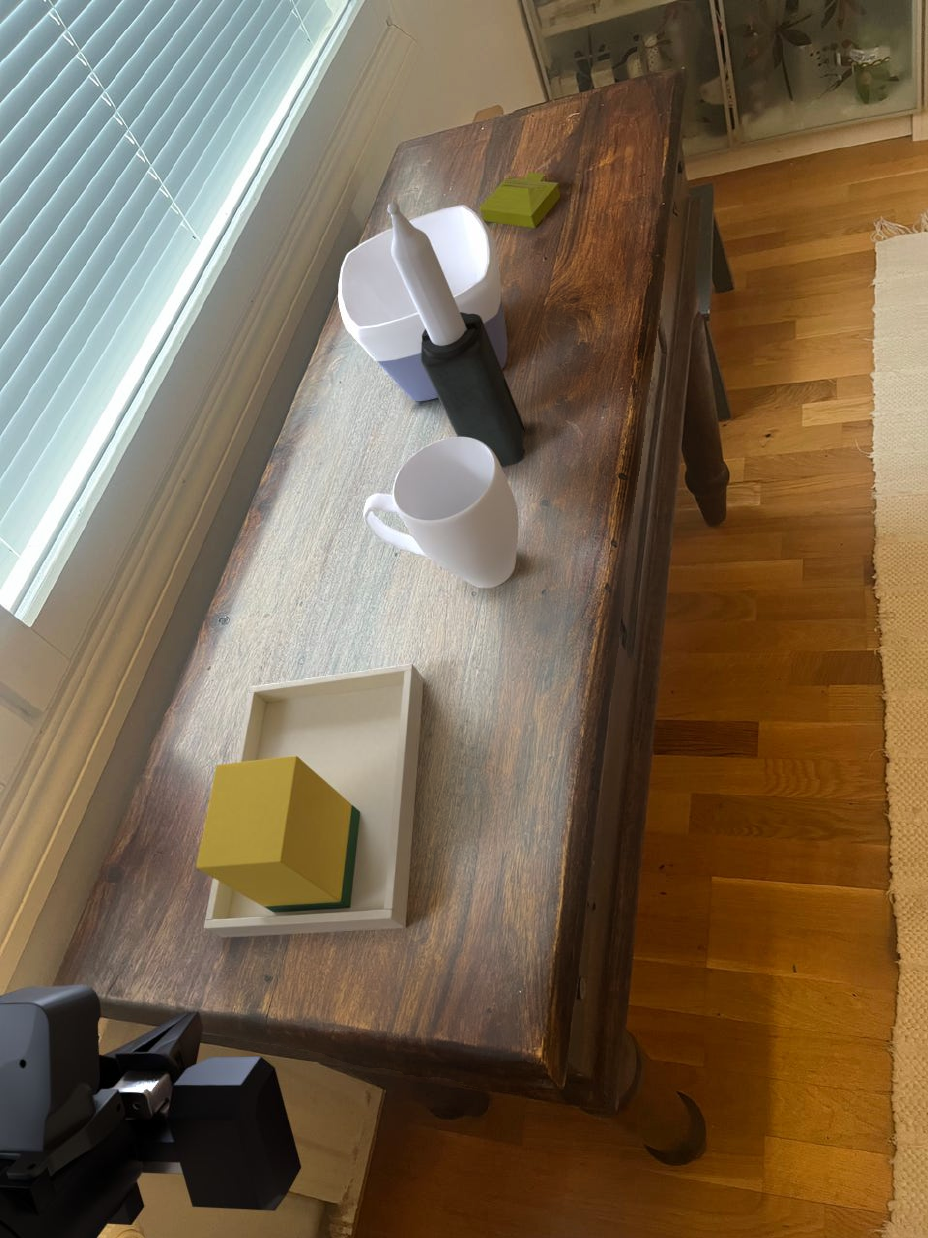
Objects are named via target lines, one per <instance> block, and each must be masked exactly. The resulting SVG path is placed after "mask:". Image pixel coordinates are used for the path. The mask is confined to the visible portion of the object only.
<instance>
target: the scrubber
mask: <svg viewBox="0 0 928 1238" xmlns="http://www.w3.org/2000/svg"><path fill="white" fill-rule="evenodd" d="M359 820H360V811H359V810H357V809H356V808H355V807H354V806H353V805H351V803H350V802H348V801H347V800H346V799H345V798H344V797H343V796H342V795H341V794H339V793H338V792H337V791H336V790H335V789H334V788H333V787H331V786H330V785H329V784H328V783H327V782H326V781H325V780H324V779H322V778H321V777H320V776H319V775H318V774H317V773H316V772H315V771H313V770H312V769H311V768H310V767H309V766H308V765H307V764H305V763H304V762H303V761H302V760H301V759H300V758H299V757H298V756H290V757H281V758H273V759H264V760H255V761H247V762H238V763H235V762H230V763H223V764H216V766H215V772H214V777H213V781H212V786H211V791H210V797H209V801H208V806H207V811H206V817H205V821H204V824H203V825H204V826H203V831H202V834H201V835H202V836H201V842H200V846H199V850H198V856H197V859H196V865H195V868H196V869H197V870H198V871H200V872H202V873H204V874H206V875H207V876H209V877H211V878H212V879H213V878H214V879H216V880H218V881H220V882H221V883H223V884H225V885H227V886H228V887H230V888H232V889H233V890H235V891H237V892H239V893H240V894H242V895H244V896H246V897H247V898H249V899H251V900H253V901H254V902H256V903H258V904H260V905H261V906H263V907H265V908H267V909H268V910H270V911H272V912H274V913H276V912H293V911H310V910H326V909H343V908H350V904H351V895H352V885H353V876H354V867H355V857H356V848H357V838H358V829H359Z"/></svg>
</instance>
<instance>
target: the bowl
mask: <svg viewBox="0 0 928 1238" xmlns="http://www.w3.org/2000/svg"><path fill="white" fill-rule="evenodd" d="M408 221H409V222H410V223H411V224H412V225H413V227H415V228H417V229H419V230H421V231H422V232H424V233H425V234H426V235H427V236H428V238H429V240H430V242H431V244H432V247H433V249H434V252H435V254H436V256H437V259H438V261H439V264H440V266H441V268H442V271H443V273H444V276H445V278H446V280H447V283H448V285H449V288H450V290H451V292H452V295H453V297H454V300H455V302H456V304H457V307H458V309H459V311H460V312H463V313H467V314H477V315H479V316H480V317H481V318H482V321H483V323H484V326H485V328H486V331H487V333H488V336H489V339H490V341H491V344H492V346H493V349H494V351H495V354H496V356H497V359H498V361H499V364H500V366H501V369H502V370H503V368H505V366H506V364H507V360H508V336H507V328H506V320H505V319H506V318H505V311H504V300H503V294H502V282H501V273H500V263H499V256H498V251H497V244H496V240H495V238H494V236H493V234H492V231H491V229H490V228H489V226H488V225H487V223H486V221H485V220H484V218H483V217H481V216H480V215H479V214H478V213H477V212H475V211H473V209H471V208H469V207H468V206H467V205H464V204H461V205H460V204H459V205H455V206H450V207H449V206H448V207H444V208H441V209H437V210H434V211H431V212H428V213H424V214H422V215H419V216H417V217H414V218H412V219H408ZM393 238H394V234H393V226H392V227H390V228H388V229H386V230H383V231H382V232H380V233H378V234H376V235H374V236H371V238H368V239H367V240H364V241H363V242H361V243H360V244H359V245H357V246H355V247H354V248H353V249H350V251H349V252H347V253H346V255H345V258H344V260H343V262H342V265H341V268H340V273H339V281H338V305H339V310H340V314H341V318H342V321H343V324H344V326H345V328H346V330H347V331H348V333H349V334H350V335H351V337H353V338H354V339H355V340H356V342H357V343H358V344H359V345H360V346H361V347H362V348H363V349H364V350H365V352H366V353H367V354H369V356H370V357H371V358H372V359H373V360H374V361H375V362H376V363H377V364H378V365H379V367H381V369H383V370H384V371H385V373H386V374H387V375H388V376H389V377H390V378H391V379H392V380H393V381H394V382H395V383H396V384H397V385H398V387H399V388H400V389H401V390H402V391H403V392H404V393H405V394H406V395H407V397H408V398H410V399H411V400H412V401H414V402H425V401H430V400H434V399H437V398H438V396H437V394H436V392H435V390H434V388H433V385H432V383H431V381H430V379H429V377H428V375H427V373H426V371H425V369H424V367H423V365H422V363H421V347H422V344H421V342H422V334H423V332H424V330H425V329H426V328H425V326H424V324H423V321H422V319H421V317H420V315H419V313H418V311H417V308H416V306H415V304H414V302H413V300H412V298H411V295H410V293H409V291H408V289H407V287H406V285H405V283H404V280H403V278H402V276H401V274H400V272H399V270H398V267H397V265H396V263H395V261H394V259H393V257H392V253H391V248H392V243H393ZM438 399H439V398H438Z"/></svg>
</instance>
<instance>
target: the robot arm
mask: <svg viewBox="0 0 928 1238" xmlns="http://www.w3.org/2000/svg"><path fill="white" fill-rule="evenodd" d="M101 1009H102V1007H101V1002H100V999H99V996H98V994H97V992H96V990H94V989H93V988H92V987H91V986H89V985H87V984H83V983H82V984H78V983H77V984H69V985H56V986H55V985H53V986H37V985H29V986H25V987H22V988H19V989H16V990H13V991H10V992H7V993H3V994H1V995H0V1238H98V1237H99V1236H100V1235H101V1234H102V1232H103V1231H104V1229H105V1228H106V1227H107V1225H123V1226H132V1225H133V1224H134V1222H135V1221H136V1220H137V1218H138V1217H139V1215H140V1214H141V1212H142V1211H143V1210H144V1209H145V1207H146V1206H145V1202H144V1199H143V1196H142V1193H141V1190H140V1186H139V1183H138V1180H139V1179H140V1177H141V1176H142V1174H159V1175H182V1176H183V1179H184V1182H185V1186H186V1189H187V1193H188V1197H189V1200H190V1203H191V1207H192V1208H204V1209H205V1208H206V1209H226V1210H227V1209H229V1210H249V1211H268V1212H269V1211H270V1212H276V1210H277V1209H278V1208H279V1206H280V1205H281V1204H282V1203H283V1201H284V1199H285V1198H286V1197H287V1195H288V1193H289V1192H290V1189H291V1188H292V1186H293V1184H294V1182H295V1180H296V1178H297V1176H298V1175H299V1173H300V1171H301V1170H302V1164H301V1160H300V1156H299V1153H298V1148H297V1146H296V1141H295V1137H294V1134H293V1130H292V1127H291V1123H290V1119H289V1116H288V1111H287V1108H286V1103H285V1100H284V1096H283V1093H282V1088H281V1085H280V1082H279V1078H278V1074H277V1070H276V1067H275V1066H274V1065H273V1064H271V1062H268V1061H267V1060H266V1059H265V1058H263V1057H262V1056H209V1057H208V1058H205V1059H204V1060H201V1061H199V1062H198V1058H199V1053H200V1046H201V1042H202V1036H203V1030H204V1026H203V1025H204V1024H203V1020H202V1017H201V1014H200V1012H199V1011H184V1012H182V1013H181V1014H178V1015H177V1016H175V1017H173V1018H171V1019H169V1020H167V1021H165V1022H163V1023H162V1024H160V1025H158V1026H156V1027H155V1028H154V1027H153V1029H151V1030H149V1031H147V1032H145V1033H143V1034H141V1035H139V1036H138V1037H136V1038H135V1039H132V1040H130V1041H128V1042H126V1043H125V1044H123V1045H121V1046H119V1047H117V1048H115V1049H113V1050H110V1051H109V1052H107V1053H103V1054H100V1043H99V1041H100V1038H99V1022H100V1019H101V1017H102V1010H101Z"/></svg>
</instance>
